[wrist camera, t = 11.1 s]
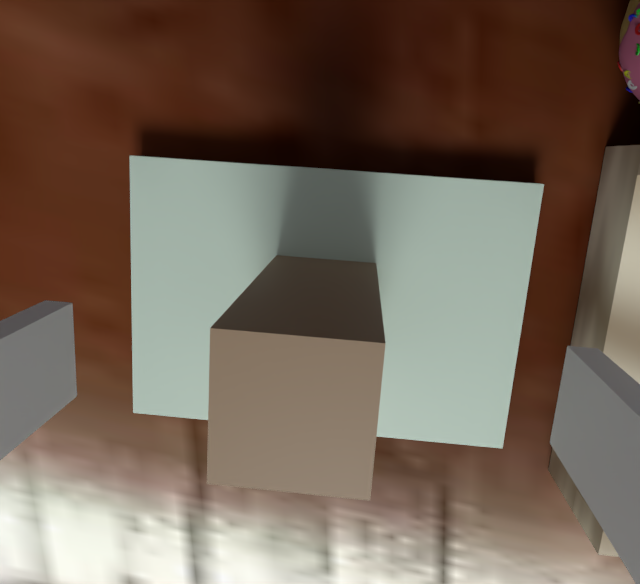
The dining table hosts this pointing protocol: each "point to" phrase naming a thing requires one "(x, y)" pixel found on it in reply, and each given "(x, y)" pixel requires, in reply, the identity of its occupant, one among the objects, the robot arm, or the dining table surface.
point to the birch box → (609, 299)
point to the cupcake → (631, 48)
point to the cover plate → (343, 218)
